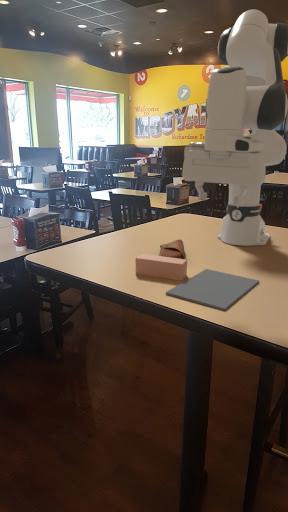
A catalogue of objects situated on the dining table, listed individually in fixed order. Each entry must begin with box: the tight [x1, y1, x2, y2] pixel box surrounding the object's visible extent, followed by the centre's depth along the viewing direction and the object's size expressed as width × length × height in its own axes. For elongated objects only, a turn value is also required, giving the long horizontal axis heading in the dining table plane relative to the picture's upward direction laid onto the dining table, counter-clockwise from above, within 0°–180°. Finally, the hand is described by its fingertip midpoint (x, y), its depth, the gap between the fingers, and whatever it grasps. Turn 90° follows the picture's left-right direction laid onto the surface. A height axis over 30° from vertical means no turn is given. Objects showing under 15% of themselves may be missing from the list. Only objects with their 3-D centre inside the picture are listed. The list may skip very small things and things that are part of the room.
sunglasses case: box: [158, 239, 186, 259], centre depth 124 cm, size 18×7×7 cm
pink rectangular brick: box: [135, 253, 188, 281], centre depth 109 cm, size 4×14×5 cm, turn 67°
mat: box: [165, 268, 260, 312], centre depth 99 cm, size 22×16×1 cm
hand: (219, 201), depth 93 cm, fingers open, 8 cm apart
